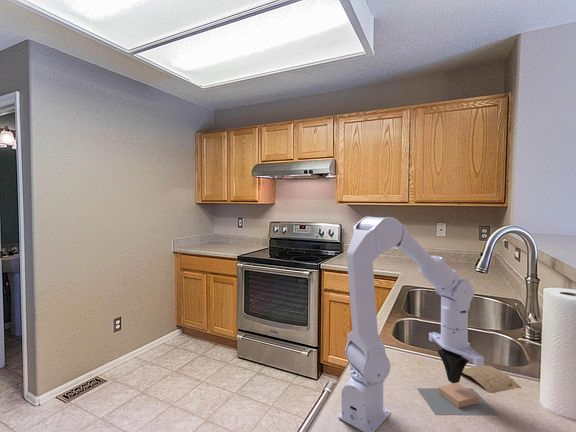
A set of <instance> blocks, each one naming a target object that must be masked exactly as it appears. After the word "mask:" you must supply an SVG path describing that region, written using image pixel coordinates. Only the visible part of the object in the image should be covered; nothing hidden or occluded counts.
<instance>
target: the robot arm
mask: <svg viewBox="0 0 576 432" xmlns="http://www.w3.org/2000/svg"><path fill="white" fill-rule="evenodd" d="M352 228H353V235H352V238H351V240H350V242H349V245H348V247H347V248H348V249H347V251H346V263H347V277H348V290H349V302H350V303H349V305H350V316H351V328H352V329H351V331H350V332H348V334H347V335H346V336H347V343H346V346H345V349H344V354H345V358H346V360H347V361H348V363H349V377H348V379H347V380H348V381H347V382H346V384H345V385H344V386H343V387H342V389H341V412H340V413H339V414H337V415H338V416H337V417H338V419H340V420H342V421H343V422H345V423H347V424H349V425H351V427H352V426H353V427H354V428H356V429H358V430H359V431H361V432H376V430H377V429H378V428H379V427H380V426H381V425H382V424H383V423H384V422H385V421H386V420H387V419H388V417H389V416H390V415H391V414H392V411H391V410H389V409H388V408H385V407H384V383H385V380H386V379H387V378H388V376H389V374H390V371H391V363H390V362H391V361H390V360H389V358H388V356H387V353H386V346H385V344H384V343H383V341H382V339H381V336H380V334H379V330H378V317H377V315H378V314H377V304H376V290H375V275H374V264H373V263H374V261H375V260H376V259H377V258H378V257H379V256H380V255H382V254H384V253H385V252H387V251H389V250H391V249H392V248H394V247H395V248H397V249H398V250H399V251H401V252H402V253H403V254H404V255H406V257H408V258H410V260H411V261H413V262H414V263H416V264H417V265H418V272H419V274H420V275H421V276H423V277H424V279H426V280H427V281H428V282H429V283H430V284H431V285H432V286H433V287H434V289H435V293H436V294H437V295H439V296H440V333H438V332H435V331H433V332H428V341H430V342H435V343H436V344H438V345H439V346H440V347H441V348H440V349H438V350H437V354H438V356H439V357H440V359H441V361H442V363H443V366H444V369H445V373H446V377H447V380H448V382H450V383H451V384H455V383H459V382H461V381H460V380H461V377H462V374H463V373H462V371H463V369H465V367H466V366H467V365H468V363H469V362H471V363H472V365H473V366H474V367H478V366H483V365H485V361H484V360H485V356H483V355H481V354H480V353H479V352H477V351H476V350H475V349H473V348H472V347H471V346H470V345H471V343H470V342H468V340H469V339H468V338H469V337H468V336H469V335H468V332H469V331H468V330H469V327H468V326H469V323H468V322H469V321H468V320H469V317H468V316H469V310H470V308H471V302H472V300H473V298H474V296H475V290H474V287H473V286H472V284H471V282H470V281H469V280H468V279H466V278H463V277H460V276H459V274H458V272H457V270H456V269H453V268H451V267H450V266H449V265H448V264H447V263H446V259H445V258H444V257H443V256H437V255H430V254H429V253H428V252H427V251H426V250H425V249H424V248H423V247H422V245H421V244H420V243H419V242H418V241H417V240H416V239H415V238H414V237H413V236H412V235H411V234H410V232H409V231H408V228H407V226H405V225H404V224H403V223H401V222H400V221H399V219H397V218H396V217H392V216H387V217H380V216H379V217H376V216H371V215H367V216H364V217H363V218H361V219H360V220H359V221H358V222H357V223H356V224H354V226H353V227H352Z"/></svg>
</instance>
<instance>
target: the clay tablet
mask: <svg viewBox="0 0 576 432" xmlns="http://www.w3.org/2000/svg"><path fill="white" fill-rule="evenodd" d="M462 374H463V375H466V376H468V377H471V378H472V379H474V381H476V382H477V383H479V384H480V385H481V386H482V387H483V389H485V390H486V391H487V392H488V393H489V394H495V393H499V392H506V391H510V390H514V389H522V386H521V385H519V384H518V383H517V381H516V380H515V379H514V378H512V377H510V376H509V375H508V374H506V373H504V372H502V371H501V369H497V368H496V367H493V366H490V365H485V364H484V365H483V366H478V367H476V366H471V367H466V368H465V367H464V369H463V371H462Z"/></svg>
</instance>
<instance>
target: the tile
mask: <svg viewBox="0 0 576 432" xmlns="http://www.w3.org/2000/svg"><path fill="white" fill-rule="evenodd" d="M437 388H438V393H439V394H440V395H442V396H443V397H444V398H446V399H447V400H448V401H450V402H451V403H452V404H454V405H455V406H456V407H458V408H460V407H465V406H469V405H473V404H478V403H479V396H477V395H476V394H474V393H473V392H471V391H470V390H468V389H467V387H465V386H464V385H462V384H461V383H459V382H458V383H451V384H446V385H441V386H438V387H437Z"/></svg>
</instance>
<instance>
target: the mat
mask: <svg viewBox="0 0 576 432" xmlns="http://www.w3.org/2000/svg"><path fill="white" fill-rule="evenodd" d="M466 388H467V387H466ZM416 389H417V391H418V392H419V394H420V395H421V396H422V398H423V399H424V401H425V403H426V404H427V405H428V407H429V408H430V409H431V411H432V412H433V413H434V415H435V416H500V413H499V412H498V411H496V410H495V409H494V408H493V406H491V405H490V404H489V403H488V402H487V401H486V400H485V399H484V398H483V397H482V396H481V395H480V394H479V393H478V392H477V391H476V390H475V389H474V388H472V387H471V388H467V389H468V390H470V391H471V392H473V393H474V394H476V395H477V396H479V403H478V404H473V405H469V406H465V407H460V408H458V407H456V406H455V405H454V404H452V403H451V402H450V401H448V400H447V399H446V398H444V397H443V396H442V395H440V394H439V393H438V387H436V388H435V387H434V388H433V387H431V388H430V387H429V388H426V387H425V388H422V387H420V388H419V387H418V388H416Z"/></svg>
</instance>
